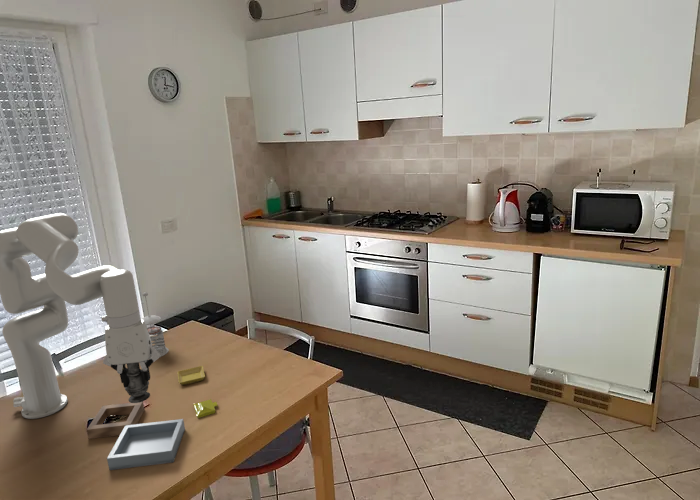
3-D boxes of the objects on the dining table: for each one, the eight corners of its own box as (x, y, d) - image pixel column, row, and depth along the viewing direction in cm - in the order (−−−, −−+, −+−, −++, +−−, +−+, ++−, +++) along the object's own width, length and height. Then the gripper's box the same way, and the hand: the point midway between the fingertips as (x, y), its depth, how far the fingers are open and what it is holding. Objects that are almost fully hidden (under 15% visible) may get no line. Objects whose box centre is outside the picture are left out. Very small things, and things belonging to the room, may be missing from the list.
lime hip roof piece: (188, 408, 151) (187, 399, 150) (217, 399, 155) (216, 391, 154) (193, 424, 142) (192, 416, 141) (224, 415, 146) (223, 406, 145)
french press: (174, 350, 190) (164, 290, 183) (148, 363, 180) (137, 300, 174) (158, 345, 195) (147, 286, 188) (132, 357, 185) (120, 296, 179)
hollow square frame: (88, 438, 137) (86, 429, 136) (104, 414, 149) (102, 405, 148) (132, 433, 138) (130, 424, 138) (144, 409, 150) (142, 401, 149)
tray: (109, 470, 124) (106, 458, 123) (127, 436, 137) (125, 425, 136) (173, 462, 125) (171, 450, 124) (185, 429, 139) (183, 418, 138)
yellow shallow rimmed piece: (206, 381, 165) (205, 376, 164) (179, 388, 162) (178, 382, 161) (203, 370, 173) (202, 365, 172) (178, 376, 170) (177, 371, 169)
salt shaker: (142, 404, 124) (134, 362, 121) (122, 403, 125) (113, 361, 122) (155, 392, 129) (148, 351, 126) (136, 390, 131) (128, 350, 127)
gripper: (83, 328, 117) (97, 395, 122) (154, 321, 119) (166, 387, 123) (95, 316, 124) (108, 380, 129) (162, 310, 126) (173, 373, 131)
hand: (136, 383), depth 126 cm, fingers closed on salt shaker, 4 cm apart
